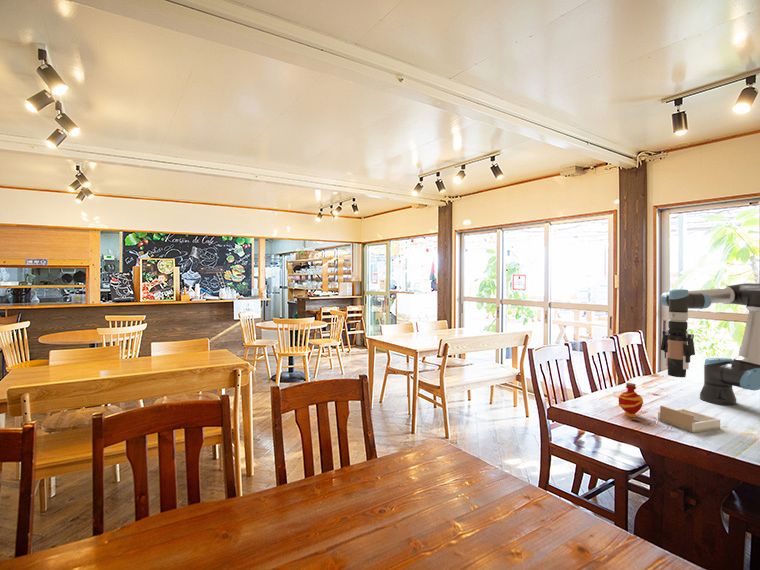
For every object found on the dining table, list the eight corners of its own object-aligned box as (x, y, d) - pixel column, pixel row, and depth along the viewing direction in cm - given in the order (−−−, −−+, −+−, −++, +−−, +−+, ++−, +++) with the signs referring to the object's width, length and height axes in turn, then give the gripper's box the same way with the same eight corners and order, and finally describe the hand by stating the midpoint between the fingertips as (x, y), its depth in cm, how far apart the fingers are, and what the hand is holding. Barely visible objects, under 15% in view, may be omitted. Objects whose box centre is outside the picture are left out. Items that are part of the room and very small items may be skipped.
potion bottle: (635, 420, 185) (635, 388, 185) (613, 413, 194) (613, 382, 194) (648, 416, 190) (648, 385, 190) (626, 410, 199) (626, 380, 199)
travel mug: (689, 378, 192) (690, 336, 191) (671, 377, 193) (672, 335, 193) (681, 374, 199) (682, 334, 199) (664, 373, 201) (665, 333, 200)
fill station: (682, 416, 190) (682, 402, 190) (720, 428, 175) (720, 412, 175) (657, 420, 185) (658, 405, 185) (694, 433, 170) (694, 416, 170)
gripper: (652, 318, 204) (651, 363, 205) (694, 323, 185) (693, 372, 185) (663, 318, 207) (662, 362, 207) (706, 322, 187) (704, 371, 188)
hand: (676, 367), depth 196 cm, fingers closed on travel mug, 8 cm apart
